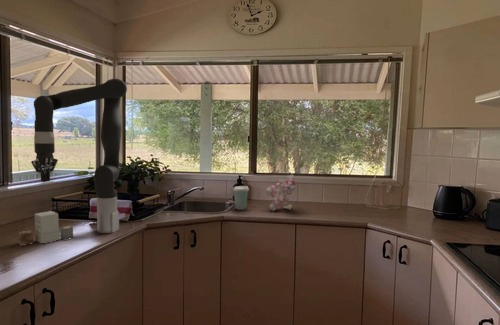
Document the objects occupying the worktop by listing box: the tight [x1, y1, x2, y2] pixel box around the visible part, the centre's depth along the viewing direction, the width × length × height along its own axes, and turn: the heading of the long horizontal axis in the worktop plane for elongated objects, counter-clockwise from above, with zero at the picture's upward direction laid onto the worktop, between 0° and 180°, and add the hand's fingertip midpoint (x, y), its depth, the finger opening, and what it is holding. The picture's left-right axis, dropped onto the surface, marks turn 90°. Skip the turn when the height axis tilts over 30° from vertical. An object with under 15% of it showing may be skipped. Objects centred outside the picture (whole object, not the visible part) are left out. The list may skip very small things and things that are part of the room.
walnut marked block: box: [18, 229, 35, 246], centre depth 145 cm, size 5×5×5 cm
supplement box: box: [34, 210, 60, 244], centre depth 149 cm, size 7×7×13 cm
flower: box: [264, 172, 297, 212], centre depth 224 cm, size 20×22×25 cm
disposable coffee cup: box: [232, 185, 250, 211], centre depth 222 cm, size 11×11×15 cm
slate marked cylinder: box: [60, 225, 74, 240], centre depth 154 cm, size 5×5×5 cm
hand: (45, 181), depth 147 cm, fingers closed
